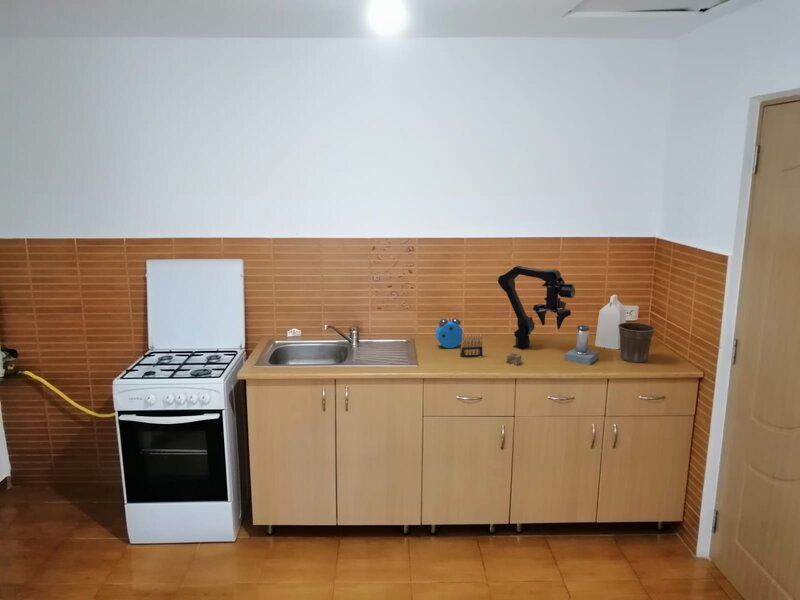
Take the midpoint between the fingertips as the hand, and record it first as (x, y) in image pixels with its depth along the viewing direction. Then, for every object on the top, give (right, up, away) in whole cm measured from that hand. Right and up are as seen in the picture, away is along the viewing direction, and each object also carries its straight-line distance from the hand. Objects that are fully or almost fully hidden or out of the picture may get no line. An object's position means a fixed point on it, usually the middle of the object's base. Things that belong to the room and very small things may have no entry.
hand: (550, 327), depth 295 cm
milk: (+34, -10, +16) cm, 39 cm away
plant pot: (+38, -15, -6) cm, 41 cm away
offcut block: (-21, -16, -13) cm, 29 cm away
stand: (+13, -15, -7) cm, 21 cm away
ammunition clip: (-39, -14, -3) cm, 42 cm away
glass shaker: (+13, -12, -8) cm, 19 cm away
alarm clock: (-49, -11, +12) cm, 51 cm away
